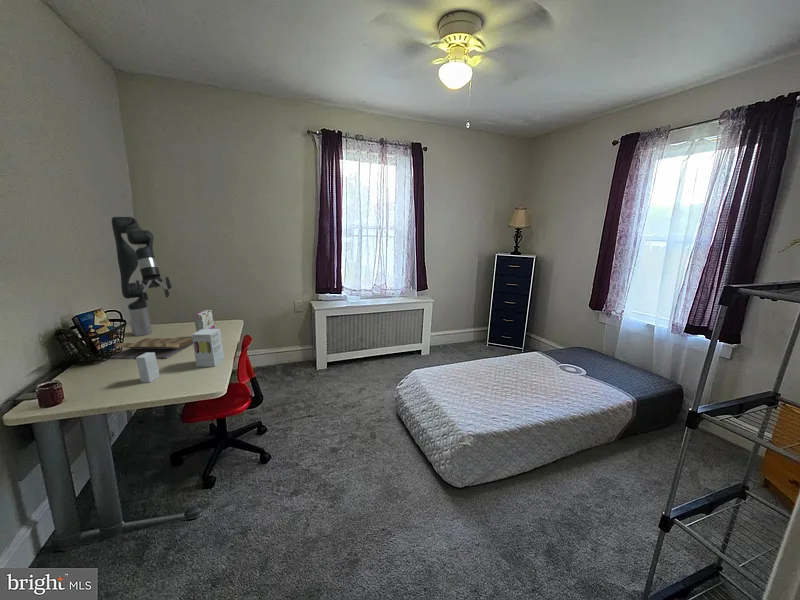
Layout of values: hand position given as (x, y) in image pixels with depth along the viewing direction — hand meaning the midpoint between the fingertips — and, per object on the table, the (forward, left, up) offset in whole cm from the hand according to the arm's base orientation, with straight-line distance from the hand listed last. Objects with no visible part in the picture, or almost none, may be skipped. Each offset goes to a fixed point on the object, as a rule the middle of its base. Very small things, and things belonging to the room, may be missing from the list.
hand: (157, 298), depth 168 cm
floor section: (-14, +8, -31) cm, 35 cm away
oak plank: (-14, +4, -28) cm, 31 cm away
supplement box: (+28, -9, -32) cm, 43 cm away
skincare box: (+11, -27, -32) cm, 43 cm away
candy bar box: (+3, +28, -32) cm, 43 cm away
